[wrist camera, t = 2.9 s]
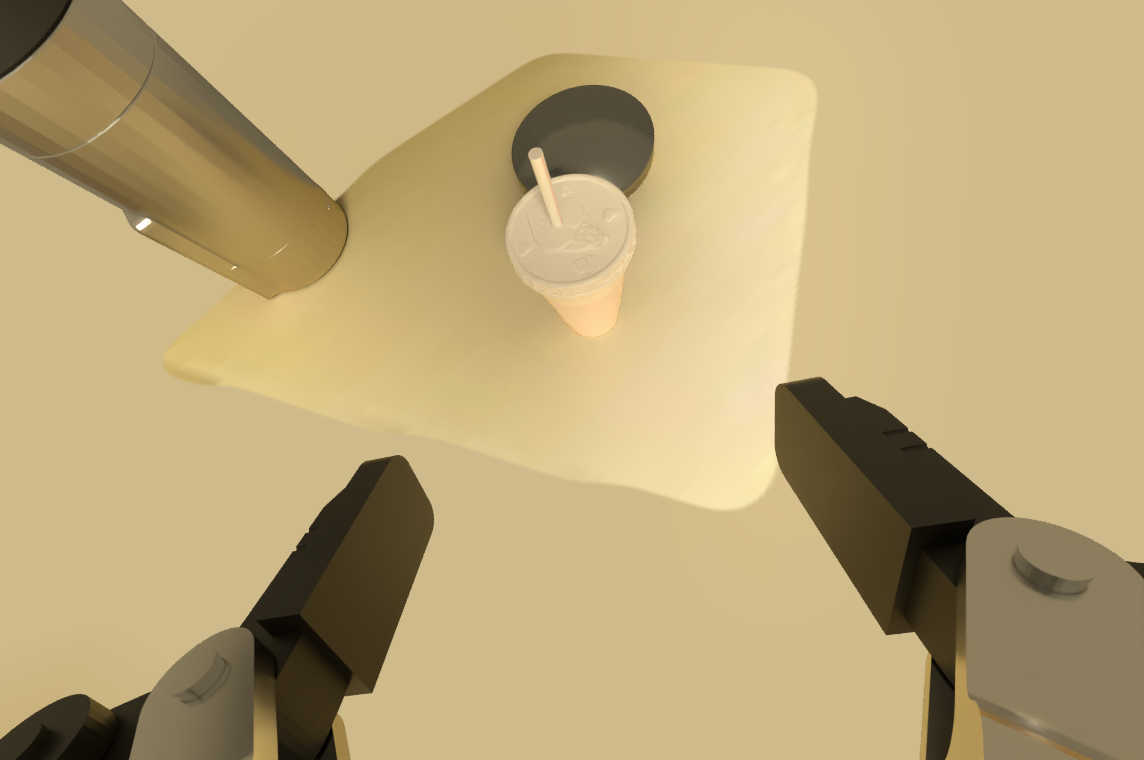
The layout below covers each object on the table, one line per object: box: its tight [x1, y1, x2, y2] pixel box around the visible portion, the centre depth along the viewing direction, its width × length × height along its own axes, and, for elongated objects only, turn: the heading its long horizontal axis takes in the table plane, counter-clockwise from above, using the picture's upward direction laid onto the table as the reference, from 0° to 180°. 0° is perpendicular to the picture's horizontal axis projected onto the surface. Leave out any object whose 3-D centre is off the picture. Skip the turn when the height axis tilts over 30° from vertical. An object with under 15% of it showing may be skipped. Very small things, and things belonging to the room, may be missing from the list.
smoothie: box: [505, 148, 637, 337], centre depth 22 cm, size 6×6×14 cm
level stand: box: [512, 85, 654, 198], centre depth 30 cm, size 10×10×3 cm
